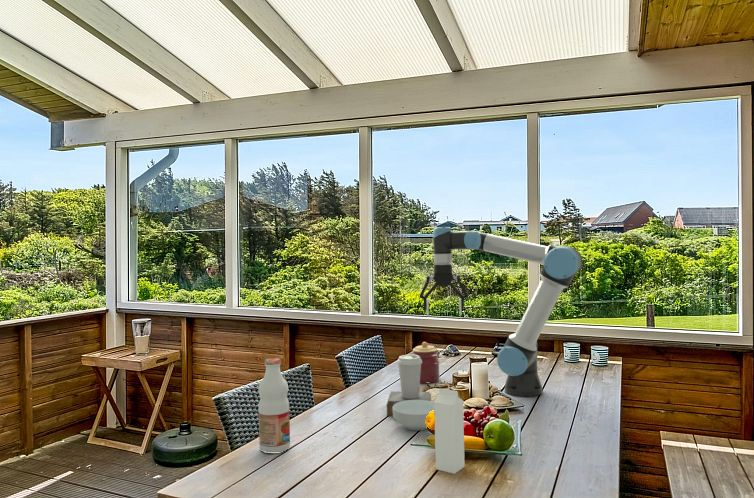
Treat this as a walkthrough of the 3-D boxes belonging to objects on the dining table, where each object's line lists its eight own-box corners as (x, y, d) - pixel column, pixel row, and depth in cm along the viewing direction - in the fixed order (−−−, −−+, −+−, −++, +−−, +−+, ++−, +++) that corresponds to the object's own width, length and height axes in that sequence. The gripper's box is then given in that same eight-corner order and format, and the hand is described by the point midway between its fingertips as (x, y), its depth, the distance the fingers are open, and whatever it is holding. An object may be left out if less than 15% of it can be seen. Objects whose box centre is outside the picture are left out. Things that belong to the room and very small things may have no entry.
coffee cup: (421, 400, 203) (420, 359, 203) (395, 399, 205) (394, 359, 204) (424, 393, 212) (423, 354, 212) (400, 392, 214) (399, 354, 214)
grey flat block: (431, 404, 215) (430, 391, 215) (430, 416, 201) (430, 401, 201) (390, 404, 216) (389, 391, 216) (387, 415, 202) (386, 401, 202)
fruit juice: (259, 445, 176) (256, 357, 175) (289, 442, 178) (286, 355, 178) (260, 456, 167) (257, 363, 166) (291, 452, 169) (288, 361, 168)
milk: (446, 462, 158) (444, 385, 158) (465, 467, 155) (463, 388, 155) (435, 469, 154) (433, 390, 154) (454, 474, 150) (452, 393, 150)
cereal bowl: (408, 438, 178) (408, 416, 178) (384, 424, 193) (383, 404, 193) (451, 429, 186) (451, 408, 186) (425, 416, 201) (424, 396, 201)
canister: (407, 382, 249) (406, 343, 249) (416, 376, 261) (415, 338, 261) (435, 384, 244) (434, 345, 244) (443, 377, 256) (442, 340, 256)
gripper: (472, 263, 233) (473, 313, 233) (413, 264, 235) (414, 313, 236) (473, 263, 225) (474, 315, 225) (412, 265, 228) (413, 316, 228)
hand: (444, 314), depth 230 cm, fingers open, 13 cm apart
